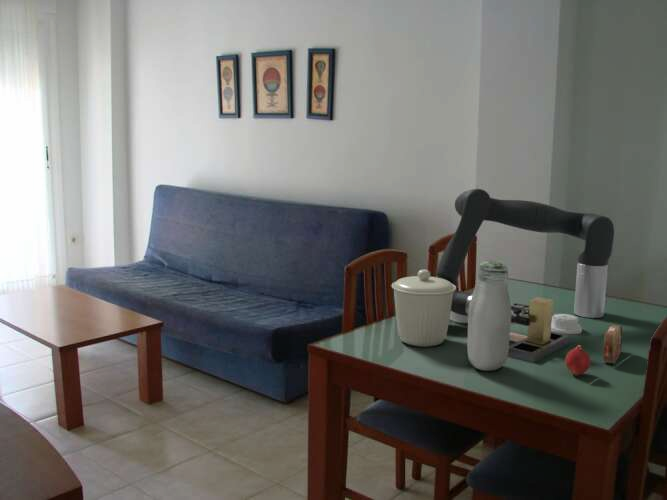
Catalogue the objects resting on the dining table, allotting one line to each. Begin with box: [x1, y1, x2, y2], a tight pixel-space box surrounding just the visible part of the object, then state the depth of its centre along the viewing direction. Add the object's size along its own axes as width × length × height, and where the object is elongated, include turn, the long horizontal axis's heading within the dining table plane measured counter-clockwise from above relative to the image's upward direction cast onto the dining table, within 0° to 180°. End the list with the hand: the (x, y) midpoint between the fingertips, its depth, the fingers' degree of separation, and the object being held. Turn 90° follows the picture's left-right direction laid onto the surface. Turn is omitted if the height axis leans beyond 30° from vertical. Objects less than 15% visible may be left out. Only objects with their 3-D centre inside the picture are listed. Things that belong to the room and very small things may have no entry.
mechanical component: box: [551, 313, 583, 335], centre depth 195 cm, size 10×4×10 cm
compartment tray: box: [507, 331, 570, 364], centre depth 177 cm, size 22×8×2 cm, turn 137°
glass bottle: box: [467, 260, 512, 372], centre depth 160 cm, size 10×10×28 cm
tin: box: [603, 324, 623, 365], centre depth 170 cm, size 15×3×8 cm, turn 148°
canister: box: [391, 269, 457, 348], centre depth 182 cm, size 18×18×21 cm
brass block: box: [527, 296, 554, 346], centre depth 176 cm, size 4×4×14 cm
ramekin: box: [449, 311, 468, 324], centre depth 206 cm, size 11×11×5 cm
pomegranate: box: [564, 344, 591, 377], centre depth 158 cm, size 6×6×8 cm
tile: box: [509, 331, 528, 343], centre depth 187 cm, size 7×7×1 cm
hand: (537, 318), depth 176 cm, fingers open, 8 cm apart
